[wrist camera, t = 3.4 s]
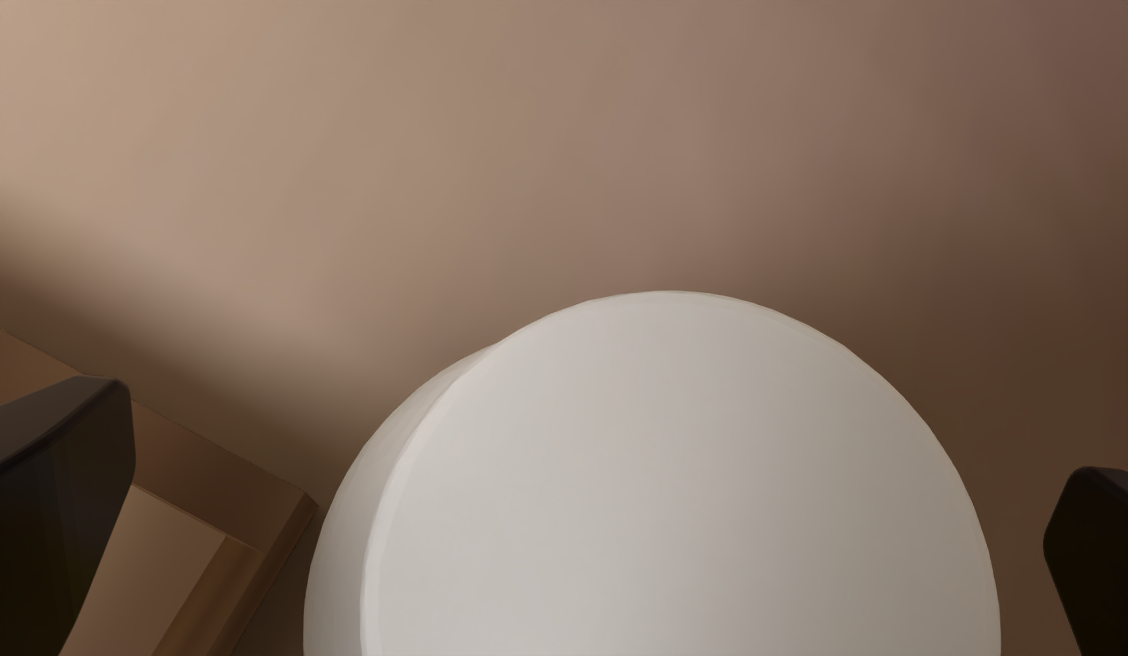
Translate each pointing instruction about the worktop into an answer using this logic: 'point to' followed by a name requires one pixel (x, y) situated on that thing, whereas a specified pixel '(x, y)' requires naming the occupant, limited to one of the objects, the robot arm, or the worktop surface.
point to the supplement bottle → (654, 501)
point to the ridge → (175, 535)
